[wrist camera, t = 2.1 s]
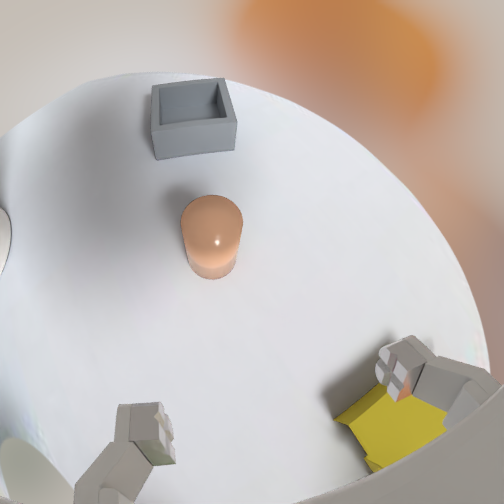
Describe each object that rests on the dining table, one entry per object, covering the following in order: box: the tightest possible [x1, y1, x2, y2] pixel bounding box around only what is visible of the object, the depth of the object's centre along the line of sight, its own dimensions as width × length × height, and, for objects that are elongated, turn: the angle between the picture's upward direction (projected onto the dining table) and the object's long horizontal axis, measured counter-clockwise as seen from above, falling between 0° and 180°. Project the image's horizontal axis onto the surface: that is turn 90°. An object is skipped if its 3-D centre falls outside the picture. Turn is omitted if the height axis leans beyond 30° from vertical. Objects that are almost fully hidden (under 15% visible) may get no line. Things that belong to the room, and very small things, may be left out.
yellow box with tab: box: [334, 382, 447, 473], centre depth 22 cm, size 16×8×15 cm
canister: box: [181, 195, 243, 279], centre depth 27 cm, size 5×5×8 cm
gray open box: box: [151, 78, 237, 160], centre depth 35 cm, size 10×10×5 cm
